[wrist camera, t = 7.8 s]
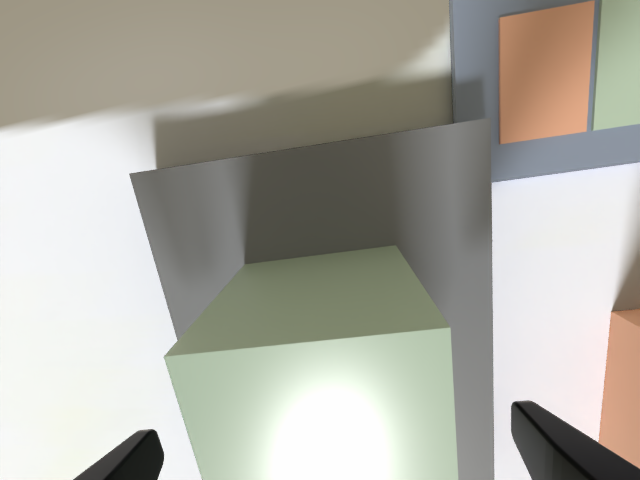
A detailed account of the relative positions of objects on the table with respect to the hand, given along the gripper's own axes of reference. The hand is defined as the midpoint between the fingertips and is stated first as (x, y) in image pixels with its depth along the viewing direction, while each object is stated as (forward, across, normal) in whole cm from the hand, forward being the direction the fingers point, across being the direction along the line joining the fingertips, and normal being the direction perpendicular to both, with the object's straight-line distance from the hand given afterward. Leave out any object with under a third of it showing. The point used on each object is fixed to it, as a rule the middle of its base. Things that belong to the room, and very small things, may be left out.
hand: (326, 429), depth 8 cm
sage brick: (+3, 0, 0) cm, 3 cm away
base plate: (+5, 0, 0) cm, 5 cm away
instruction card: (+5, -9, -8) cm, 13 cm away
